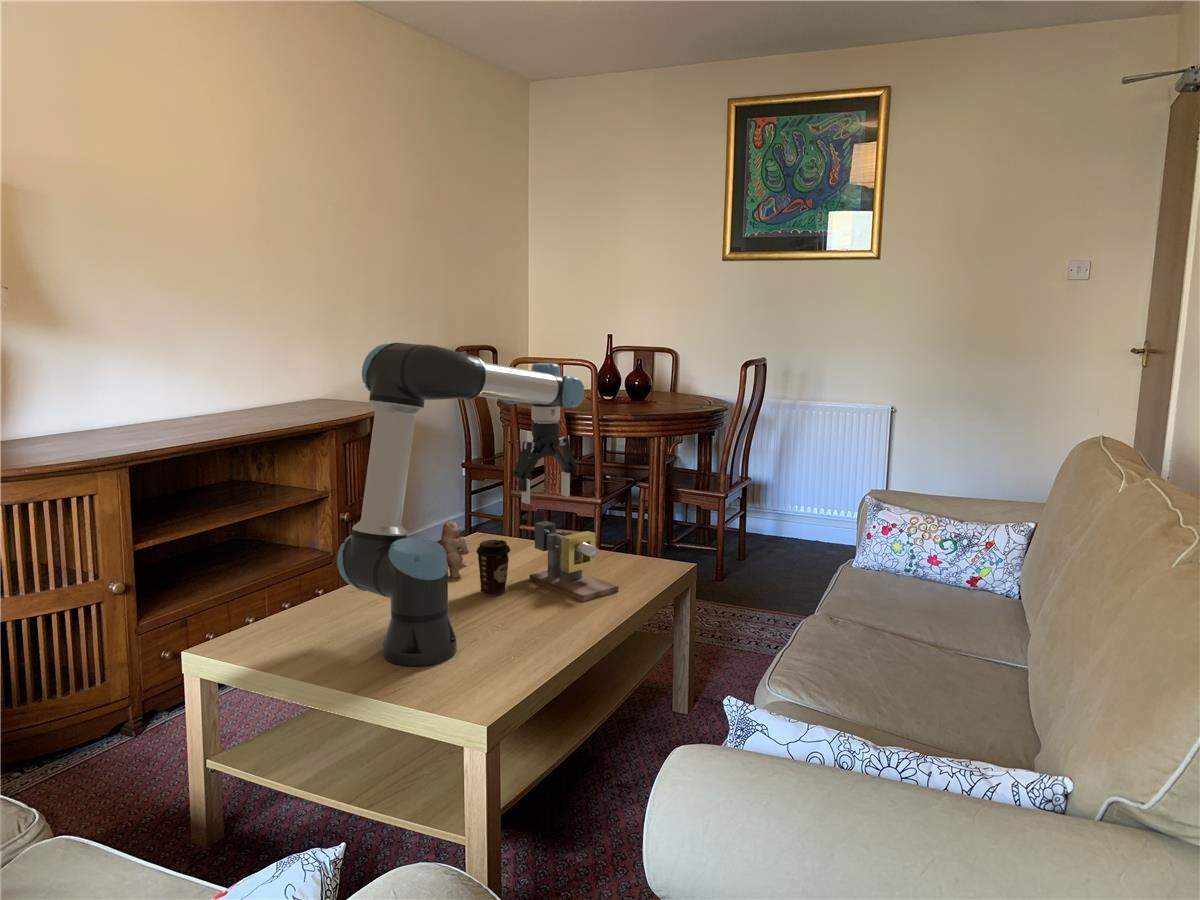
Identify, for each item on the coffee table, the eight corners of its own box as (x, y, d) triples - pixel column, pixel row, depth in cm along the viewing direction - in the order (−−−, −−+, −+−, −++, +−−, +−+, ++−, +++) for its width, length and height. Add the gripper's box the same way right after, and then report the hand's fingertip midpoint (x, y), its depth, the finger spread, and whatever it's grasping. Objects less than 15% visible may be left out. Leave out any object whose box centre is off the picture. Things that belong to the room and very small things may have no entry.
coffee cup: (513, 587, 219) (513, 539, 217) (507, 598, 211) (507, 548, 209) (481, 586, 220) (480, 538, 218) (473, 596, 212) (472, 546, 210)
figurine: (467, 579, 226) (467, 524, 223) (439, 578, 226) (438, 524, 224) (471, 572, 232) (471, 519, 230) (444, 571, 232) (443, 518, 230)
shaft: (587, 566, 213) (588, 540, 212) (534, 548, 230) (534, 523, 228) (599, 563, 216) (599, 537, 215) (546, 545, 232) (546, 520, 231)
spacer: (568, 573, 215) (569, 538, 214) (561, 570, 218) (561, 536, 216) (595, 566, 221) (595, 533, 220) (587, 563, 224) (587, 530, 222)
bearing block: (583, 601, 210) (583, 551, 208) (529, 580, 226) (529, 533, 224) (618, 591, 218) (619, 542, 216) (564, 571, 234) (564, 526, 232)
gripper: (516, 427, 213) (516, 508, 216) (590, 419, 229) (589, 495, 233) (499, 423, 218) (499, 503, 222) (572, 416, 235) (572, 490, 238)
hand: (545, 499), depth 227 cm, fingers open, 13 cm apart
